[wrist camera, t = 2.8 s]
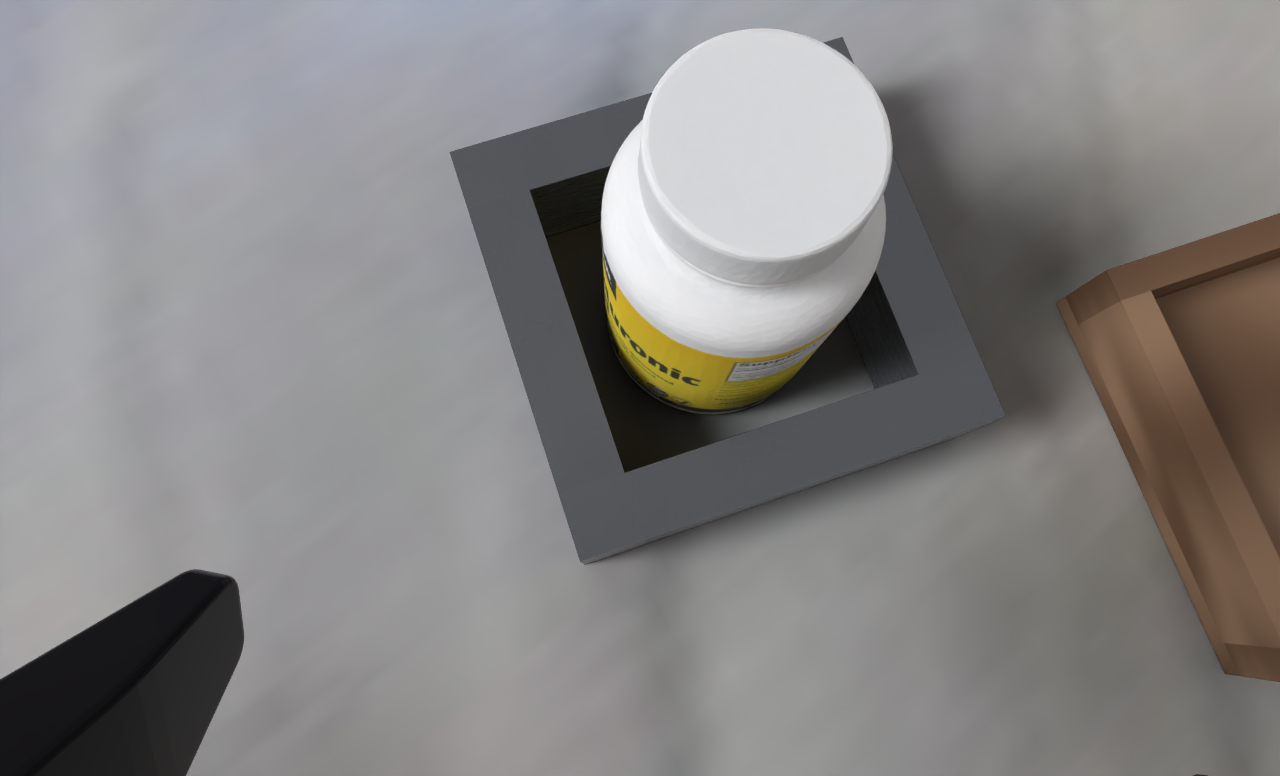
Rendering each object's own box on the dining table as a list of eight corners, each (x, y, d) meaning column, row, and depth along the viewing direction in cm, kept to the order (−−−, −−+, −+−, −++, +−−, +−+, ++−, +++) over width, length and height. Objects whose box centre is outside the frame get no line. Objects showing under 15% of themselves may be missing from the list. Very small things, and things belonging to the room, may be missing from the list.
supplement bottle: (571, 270, 24) (540, 54, 14) (753, 193, 24) (844, -65, 15) (657, 454, 23) (688, 357, 13) (845, 368, 23) (1007, 216, 14)
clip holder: (955, 437, 23) (1005, 416, 20) (584, 564, 22) (580, 561, 19) (815, 101, 25) (842, 37, 22) (470, 205, 24) (449, 152, 21)
